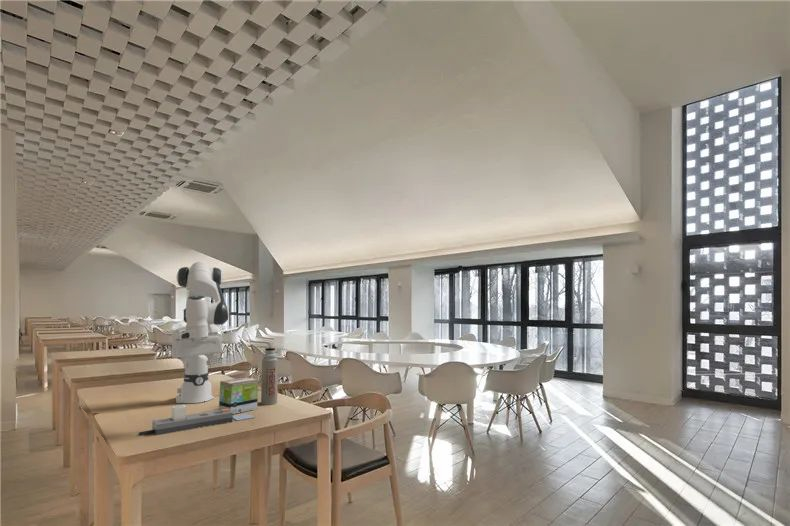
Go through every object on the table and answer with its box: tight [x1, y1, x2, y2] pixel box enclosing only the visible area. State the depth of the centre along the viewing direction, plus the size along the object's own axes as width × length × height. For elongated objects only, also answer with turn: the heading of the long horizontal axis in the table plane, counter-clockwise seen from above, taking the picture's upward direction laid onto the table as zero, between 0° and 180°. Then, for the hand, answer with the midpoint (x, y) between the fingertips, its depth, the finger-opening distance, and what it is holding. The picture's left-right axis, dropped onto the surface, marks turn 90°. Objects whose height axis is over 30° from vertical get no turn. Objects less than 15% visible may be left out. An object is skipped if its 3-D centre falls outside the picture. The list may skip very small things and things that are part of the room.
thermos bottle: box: [260, 347, 279, 406], centre depth 234 cm, size 8×8×28 cm
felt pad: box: [233, 413, 256, 422], centre depth 205 cm, size 8×8×1 cm
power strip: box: [138, 409, 234, 436], centre depth 190 cm, size 8×36×5 cm, turn 129°
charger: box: [171, 404, 187, 421], centre depth 188 cm, size 4×4×7 cm
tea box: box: [218, 377, 259, 415], centre depth 218 cm, size 15×10×15 cm
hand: (197, 366), depth 192 cm, fingers open, 8 cm apart
